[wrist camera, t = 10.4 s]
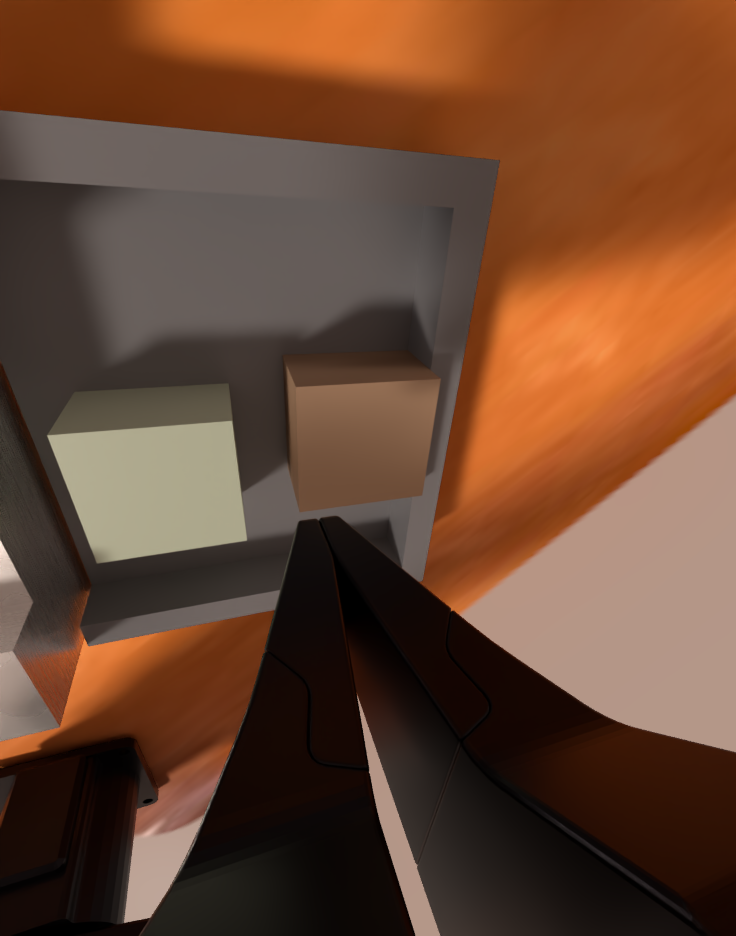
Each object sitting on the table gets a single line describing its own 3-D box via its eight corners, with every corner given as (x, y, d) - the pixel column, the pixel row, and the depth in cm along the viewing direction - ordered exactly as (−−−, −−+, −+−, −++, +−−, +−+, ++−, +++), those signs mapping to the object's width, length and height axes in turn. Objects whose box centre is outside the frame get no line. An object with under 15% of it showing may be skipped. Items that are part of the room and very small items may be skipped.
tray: (401, 541, 20) (422, 580, 18) (102, 591, 16) (88, 646, 14) (453, 163, 12) (499, 160, 10) (-86, 111, 9) (-168, 93, 7)
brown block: (299, 512, 13) (287, 468, 15) (422, 495, 14) (395, 456, 16) (295, 387, 11) (282, 354, 13) (440, 378, 12) (407, 350, 14)
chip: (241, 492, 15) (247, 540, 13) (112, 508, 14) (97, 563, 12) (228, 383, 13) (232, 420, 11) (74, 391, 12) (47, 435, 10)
